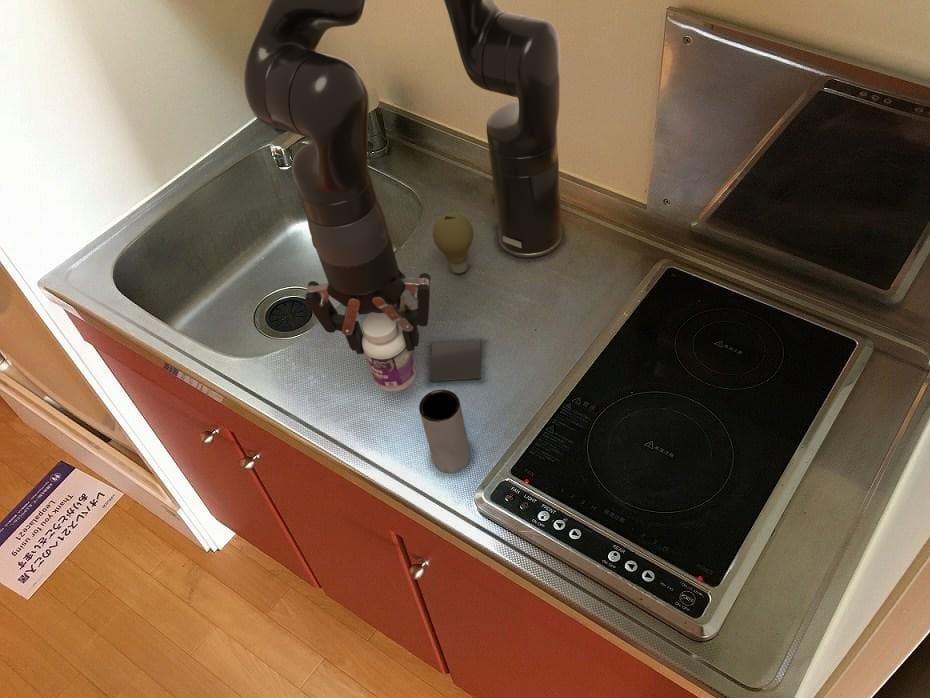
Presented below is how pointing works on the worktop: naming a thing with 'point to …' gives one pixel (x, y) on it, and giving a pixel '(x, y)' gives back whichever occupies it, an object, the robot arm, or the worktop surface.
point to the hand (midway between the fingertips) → (386, 346)
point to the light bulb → (454, 239)
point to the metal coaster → (455, 361)
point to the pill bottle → (387, 353)
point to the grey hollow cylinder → (445, 430)
